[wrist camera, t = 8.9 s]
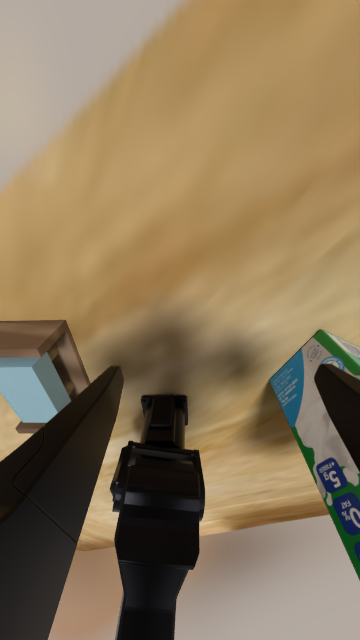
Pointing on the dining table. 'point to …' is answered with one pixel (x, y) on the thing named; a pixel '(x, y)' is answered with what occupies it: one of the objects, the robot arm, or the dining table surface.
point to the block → (32, 388)
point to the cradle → (34, 343)
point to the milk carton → (324, 432)
